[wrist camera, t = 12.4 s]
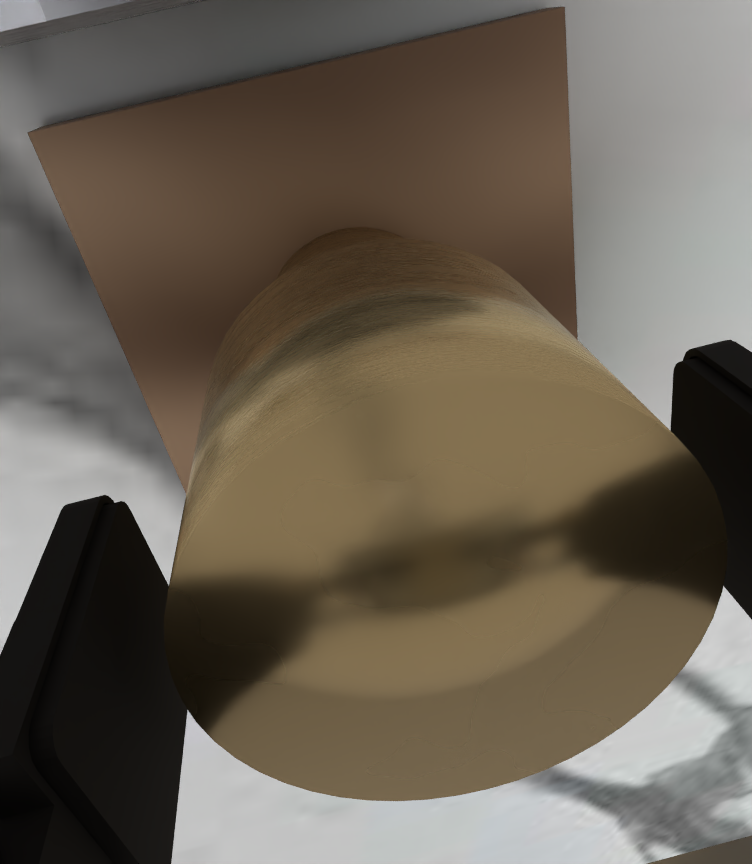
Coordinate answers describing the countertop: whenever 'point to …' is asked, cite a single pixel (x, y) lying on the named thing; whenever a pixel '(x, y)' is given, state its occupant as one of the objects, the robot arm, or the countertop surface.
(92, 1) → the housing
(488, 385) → the end cover
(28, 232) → the countertop surface
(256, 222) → the board
